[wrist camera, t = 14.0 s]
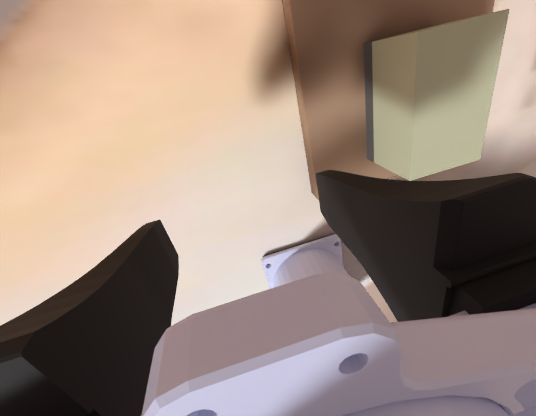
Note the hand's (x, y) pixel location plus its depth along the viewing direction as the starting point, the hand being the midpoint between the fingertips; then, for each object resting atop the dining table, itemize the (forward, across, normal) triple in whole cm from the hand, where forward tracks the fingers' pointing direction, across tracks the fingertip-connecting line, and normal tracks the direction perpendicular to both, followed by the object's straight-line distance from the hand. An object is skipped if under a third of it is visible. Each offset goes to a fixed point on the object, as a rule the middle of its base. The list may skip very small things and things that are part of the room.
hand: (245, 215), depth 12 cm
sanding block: (+8, -13, -1) cm, 15 cm away
